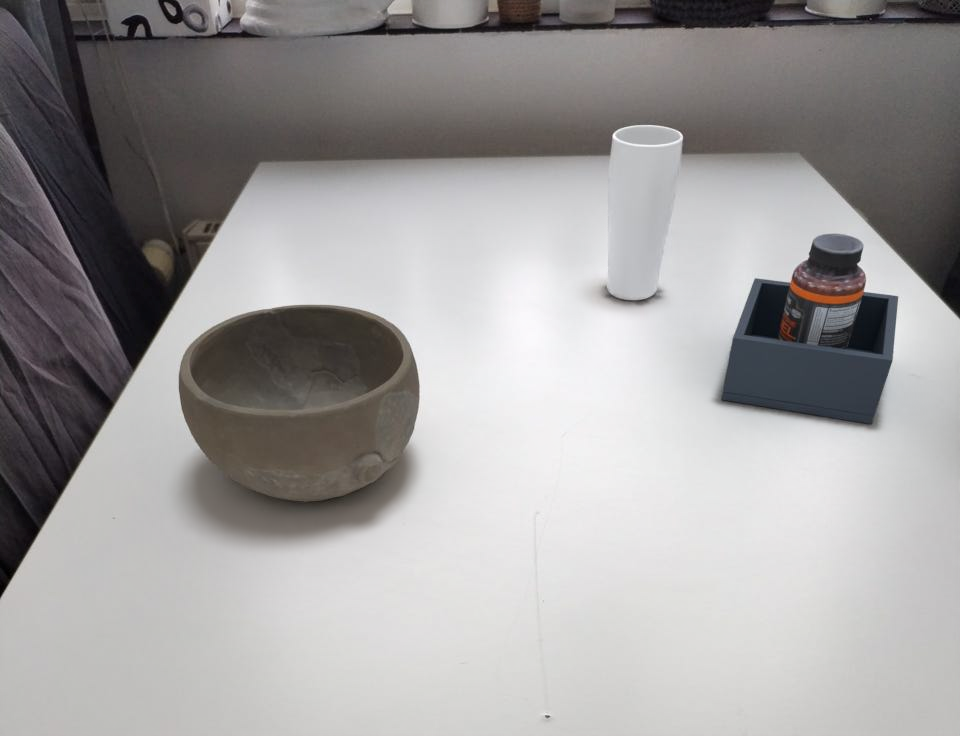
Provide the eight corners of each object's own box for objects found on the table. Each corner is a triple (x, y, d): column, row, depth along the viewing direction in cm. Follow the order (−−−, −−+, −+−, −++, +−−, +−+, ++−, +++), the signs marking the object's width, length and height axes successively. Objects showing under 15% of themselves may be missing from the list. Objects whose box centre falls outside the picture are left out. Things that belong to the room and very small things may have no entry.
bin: (742, 337, 87) (754, 277, 82) (879, 356, 83) (898, 295, 79) (721, 400, 78) (732, 337, 74) (871, 424, 75) (892, 360, 71)
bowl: (437, 517, 67) (429, 396, 60) (196, 545, 65) (159, 424, 58) (412, 401, 79) (403, 290, 72) (208, 422, 77) (178, 310, 70)
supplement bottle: (761, 356, 82) (789, 229, 74) (824, 352, 82) (858, 225, 74) (784, 389, 78) (816, 258, 70) (850, 384, 78) (889, 253, 70)
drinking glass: (646, 274, 97) (664, 121, 87) (675, 299, 93) (697, 140, 82) (589, 284, 96) (600, 129, 85) (615, 309, 91) (630, 149, 81)
